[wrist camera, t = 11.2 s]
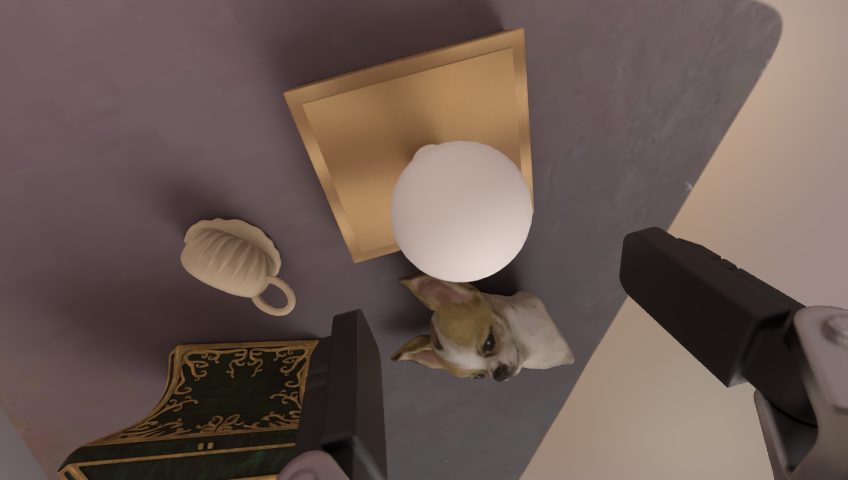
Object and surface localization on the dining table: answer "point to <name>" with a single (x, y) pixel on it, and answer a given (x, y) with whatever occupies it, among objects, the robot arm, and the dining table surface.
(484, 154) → the lightbulb
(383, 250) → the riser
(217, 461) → the decorative box
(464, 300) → the ceramic sculpture
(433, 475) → the dining table surface
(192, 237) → the decorative ornament
